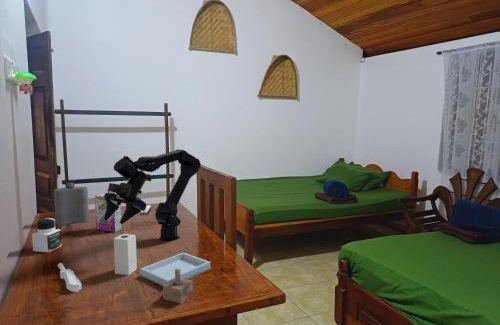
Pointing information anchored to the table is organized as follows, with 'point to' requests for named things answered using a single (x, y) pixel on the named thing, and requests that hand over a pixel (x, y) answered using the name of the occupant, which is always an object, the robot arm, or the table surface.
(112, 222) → the candy bar box
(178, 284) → the wood block with post
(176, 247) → the table surface
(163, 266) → the tray
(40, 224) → the medicine bottle
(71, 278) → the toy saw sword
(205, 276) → the table surface
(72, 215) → the flask
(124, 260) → the bored block
